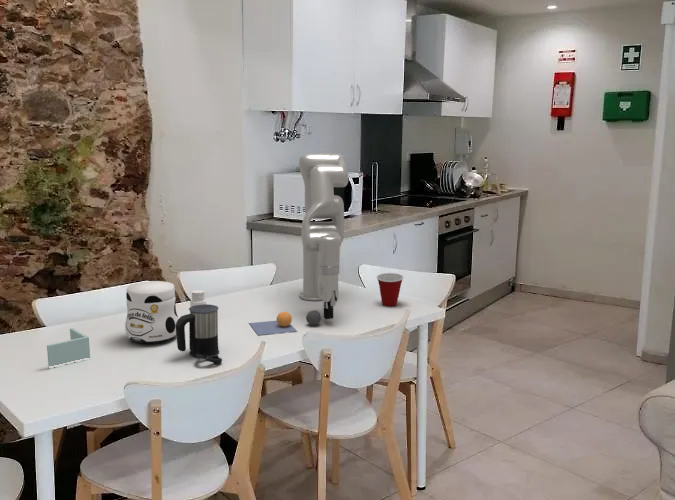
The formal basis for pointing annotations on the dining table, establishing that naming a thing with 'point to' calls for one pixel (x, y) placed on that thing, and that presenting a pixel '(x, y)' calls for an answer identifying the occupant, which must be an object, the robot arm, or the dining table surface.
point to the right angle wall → (69, 349)
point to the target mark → (270, 328)
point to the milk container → (151, 312)
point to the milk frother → (200, 332)
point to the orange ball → (284, 319)
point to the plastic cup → (389, 288)
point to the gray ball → (313, 317)
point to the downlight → (197, 298)
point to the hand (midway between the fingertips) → (328, 318)
